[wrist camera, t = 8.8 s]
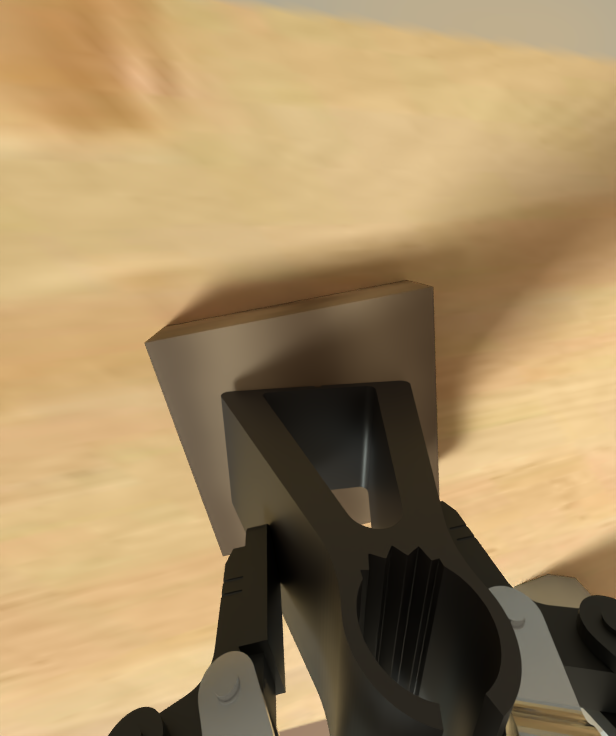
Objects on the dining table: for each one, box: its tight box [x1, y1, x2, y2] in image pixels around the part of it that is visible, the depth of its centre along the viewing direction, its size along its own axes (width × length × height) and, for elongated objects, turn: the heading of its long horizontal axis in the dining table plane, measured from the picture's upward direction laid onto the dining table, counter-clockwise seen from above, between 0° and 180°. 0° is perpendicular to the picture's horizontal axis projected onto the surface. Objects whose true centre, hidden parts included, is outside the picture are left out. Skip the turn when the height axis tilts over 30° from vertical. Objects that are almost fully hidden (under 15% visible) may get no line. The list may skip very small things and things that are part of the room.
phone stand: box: [221, 380, 522, 736], centre depth 11 cm, size 9×6×12 cm, turn 89°
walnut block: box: [145, 280, 439, 556], centre depth 18 cm, size 13×13×3 cm
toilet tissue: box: [514, 575, 608, 736], centre depth 26 cm, size 9×13×9 cm
